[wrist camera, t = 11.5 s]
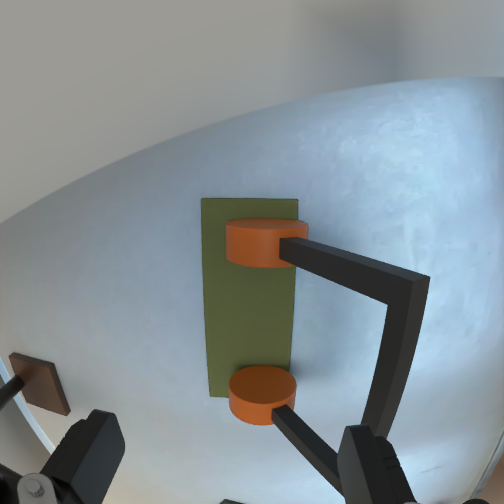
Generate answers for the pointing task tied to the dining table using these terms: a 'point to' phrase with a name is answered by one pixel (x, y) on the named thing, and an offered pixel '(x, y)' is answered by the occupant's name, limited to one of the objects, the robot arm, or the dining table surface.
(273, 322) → the desk pad
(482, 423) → the dining table surface
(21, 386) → the hook stand
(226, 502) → the smartphone
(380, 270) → the headphones
